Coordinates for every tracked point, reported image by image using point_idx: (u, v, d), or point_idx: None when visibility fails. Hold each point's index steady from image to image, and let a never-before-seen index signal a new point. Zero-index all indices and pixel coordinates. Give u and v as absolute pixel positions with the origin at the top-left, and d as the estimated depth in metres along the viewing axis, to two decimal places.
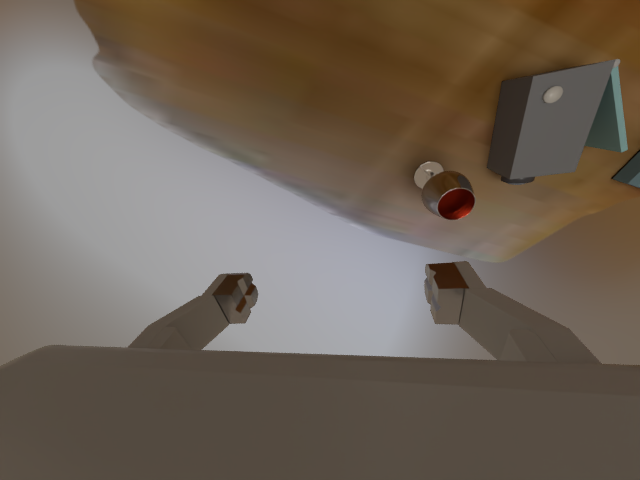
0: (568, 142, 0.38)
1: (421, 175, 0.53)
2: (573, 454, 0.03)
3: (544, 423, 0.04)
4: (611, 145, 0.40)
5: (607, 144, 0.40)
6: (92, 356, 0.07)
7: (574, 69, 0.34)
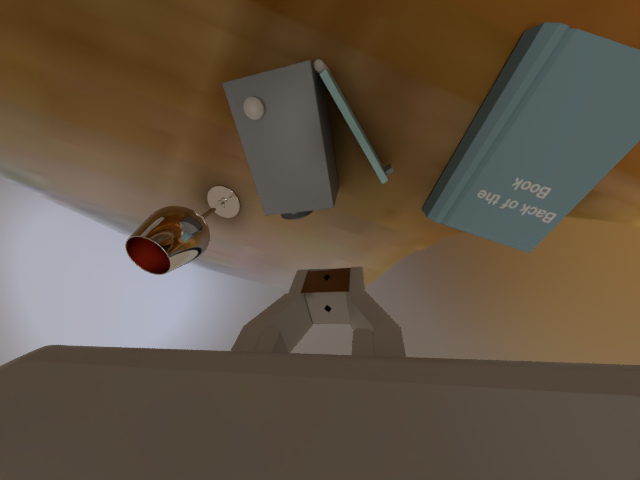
0: (308, 171, 0.28)
1: (215, 202, 0.43)
2: (573, 454, 0.03)
3: (544, 423, 0.04)
4: None
5: None
6: (92, 357, 0.07)
7: (266, 73, 0.24)
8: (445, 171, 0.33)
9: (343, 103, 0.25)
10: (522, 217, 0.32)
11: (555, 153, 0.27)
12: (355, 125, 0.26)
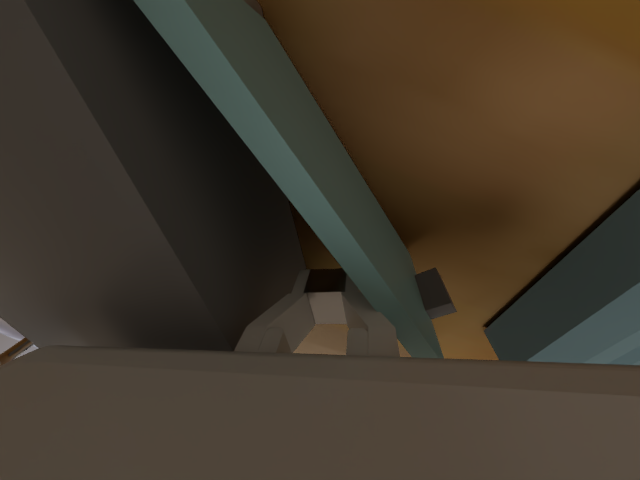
0: (168, 341, 0.08)
1: None
2: (573, 454, 0.03)
3: (544, 423, 0.04)
4: None
5: None
6: (92, 356, 0.07)
7: None
8: (561, 272, 0.13)
9: (251, 103, 0.05)
10: None
11: None
12: (321, 204, 0.06)
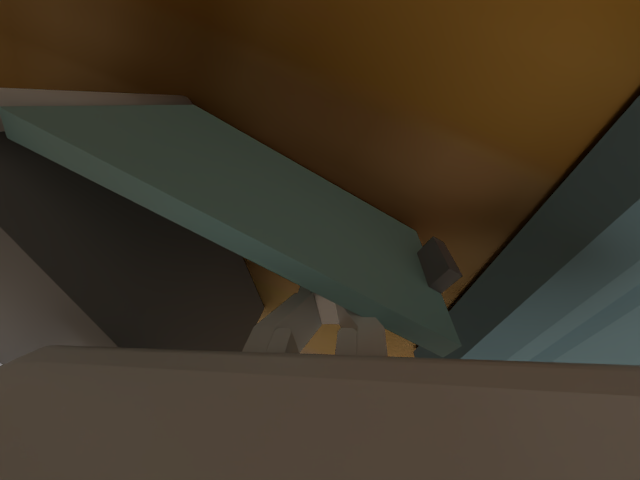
0: None
1: None
2: (573, 454, 0.03)
3: (544, 423, 0.04)
4: None
5: None
6: (92, 357, 0.07)
7: None
8: (461, 306, 0.15)
9: (144, 186, 0.06)
10: None
11: None
12: (234, 233, 0.06)
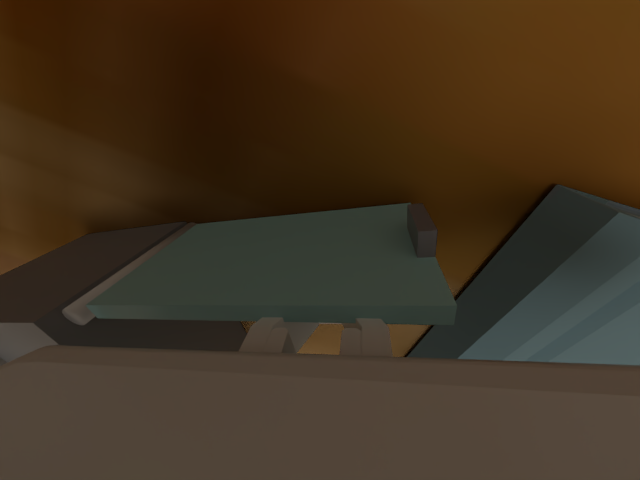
0: None
1: None
2: (573, 454, 0.03)
3: (544, 423, 0.04)
4: None
5: None
6: (92, 356, 0.07)
7: None
8: None
9: (158, 307, 0.09)
10: None
11: None
12: (217, 308, 0.08)
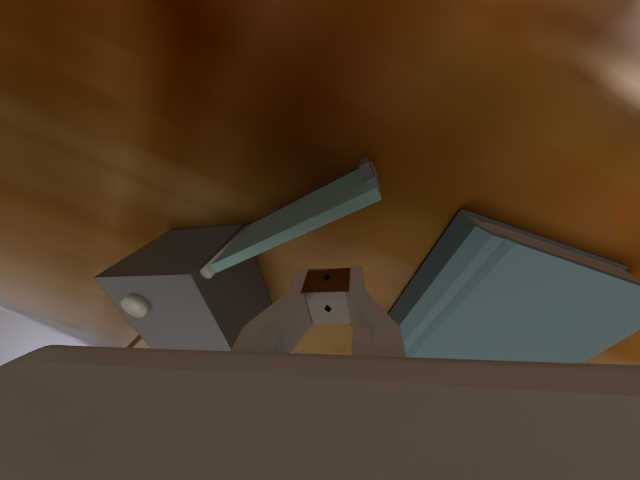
0: None
1: None
2: (573, 454, 0.03)
3: (544, 423, 0.04)
4: None
5: None
6: (92, 357, 0.07)
7: (142, 277, 0.19)
8: None
9: (245, 250, 0.17)
10: None
11: (502, 347, 0.22)
12: (272, 238, 0.16)
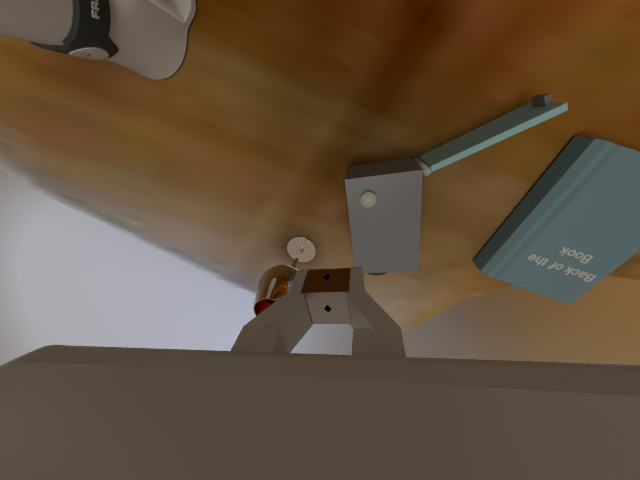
0: (402, 244, 0.34)
1: (293, 249, 0.49)
2: (573, 454, 0.03)
3: (544, 423, 0.04)
4: None
5: None
6: (92, 357, 0.07)
7: (383, 176, 0.30)
8: (497, 233, 0.39)
9: (462, 152, 0.28)
10: (566, 277, 0.37)
11: (598, 230, 0.33)
12: (486, 141, 0.27)
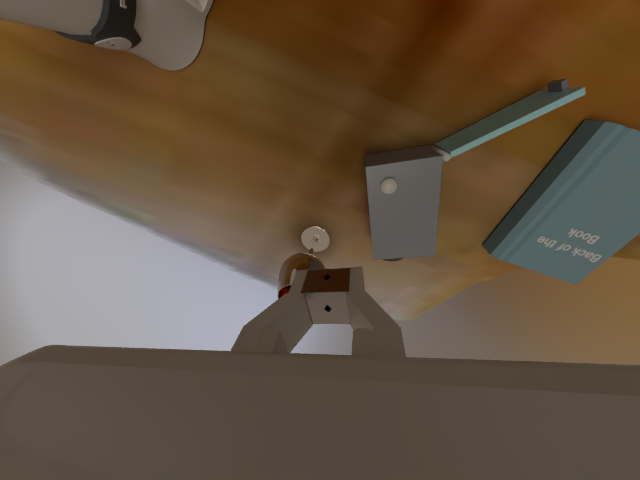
0: (420, 229, 0.35)
1: (308, 239, 0.50)
2: (573, 454, 0.03)
3: (544, 423, 0.04)
4: None
5: None
6: (92, 357, 0.07)
7: (404, 162, 0.31)
8: (507, 217, 0.40)
9: (481, 138, 0.29)
10: (573, 257, 0.39)
11: (605, 211, 0.34)
12: (505, 127, 0.28)
